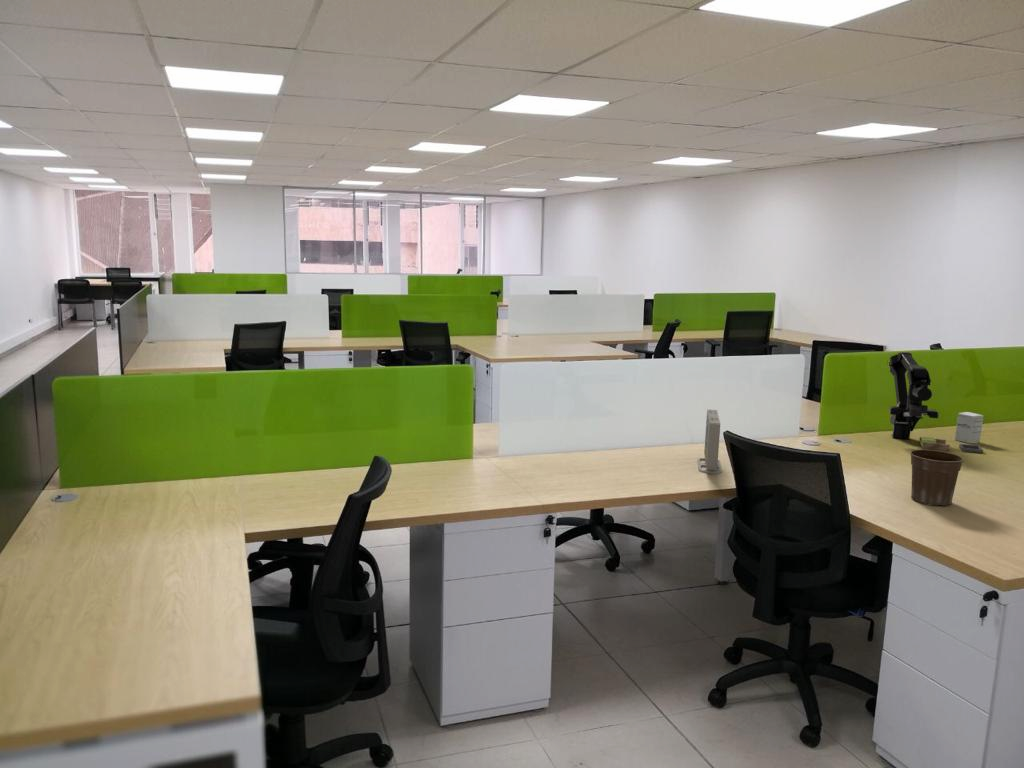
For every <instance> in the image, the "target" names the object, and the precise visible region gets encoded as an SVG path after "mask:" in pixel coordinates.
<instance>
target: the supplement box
mask: <svg viewBox="0 0 1024 768" xmlns="http://www.w3.org/2000/svg"><path fill="white" fill-rule="evenodd" d="M983 420H984V414H978V413H975V412H970V411H965V412H964V411H963V412H958V414H957V421H956V429H955V435H954V441H959V442H963V443H967V444H968V445H971V444H978V443H980V442H981V436H982V435H981V434H982V429H983V422H984V421H983Z"/></svg>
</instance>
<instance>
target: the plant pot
mask: <svg viewBox="0 0 1024 768" xmlns="http://www.w3.org/2000/svg"><path fill="white" fill-rule="evenodd" d="M909 455H910V465H911V493H910V495H911V496H910V497H911V499H912V498H913V499H912V500H914V501H915V502H917V501H918V502H917V503H920V502H921V503H920V504H923V503H925V504H924V505H927V504H931V505H930V506H935V505H937V506H938V505H940V506H941V505H942V507H947V505H948V506H950V505H951V504H952V503H953V497H954V493H955V489H956V485H957V481H958V476H959V472H960V471H961V467H962V464H963V462H964V461H965V458H964V457H963V456H961V455H958V454H957V453H952V452H950V451H944V450H933V449H923V448H922V449H920V448H919V449H913V450H910V451H909Z"/></svg>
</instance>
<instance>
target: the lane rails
mask: <svg viewBox="0 0 1024 768" xmlns="http://www.w3.org/2000/svg"><path fill="white" fill-rule="evenodd" d="M921 437H922V436H921ZM921 437H919V441H918V443H919V444H921ZM933 438H934V439H935V440H936V443H928V442H923V447H922V446H921V447H922V449H925V450H936V451H943V452H950V446H951V445H950V444H947V442H946V438H945V439H944V438H935V437H933Z"/></svg>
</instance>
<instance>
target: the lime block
mask: <svg viewBox="0 0 1024 768" xmlns="http://www.w3.org/2000/svg"><path fill="white" fill-rule="evenodd" d="M934 438H935V437H926V436H921V443H920V446H921V447H923V442H928V443H936V440H935V439H936V438H935V439H934Z"/></svg>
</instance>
